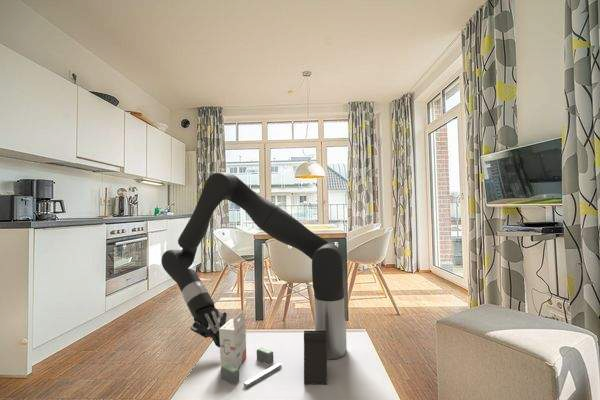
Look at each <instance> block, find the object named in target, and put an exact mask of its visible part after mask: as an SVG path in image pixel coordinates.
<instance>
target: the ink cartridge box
mask: <svg viewBox="0 0 600 400" xmlns="http://www.w3.org/2000/svg"><path fill="white" fill-rule="evenodd" d="M246 332H247V330H246V315H245V309H242V311H240V312H239V313H238V314H237V315H236V316H235V317H233V318H230V319H229V320H228V321H226V323H225V324H224V325H223V326H222V327H221V328H220V329H219V336H220V348H219V355H220V356H219V358H220V368H221V367H223V366H225V365H227V364H228V365H230V366H232V367H234V368H236V369H238V370H239V367H240V366H241V365H242V364H243V362H244V361H245V359H246V358H247V334H246Z"/></svg>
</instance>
